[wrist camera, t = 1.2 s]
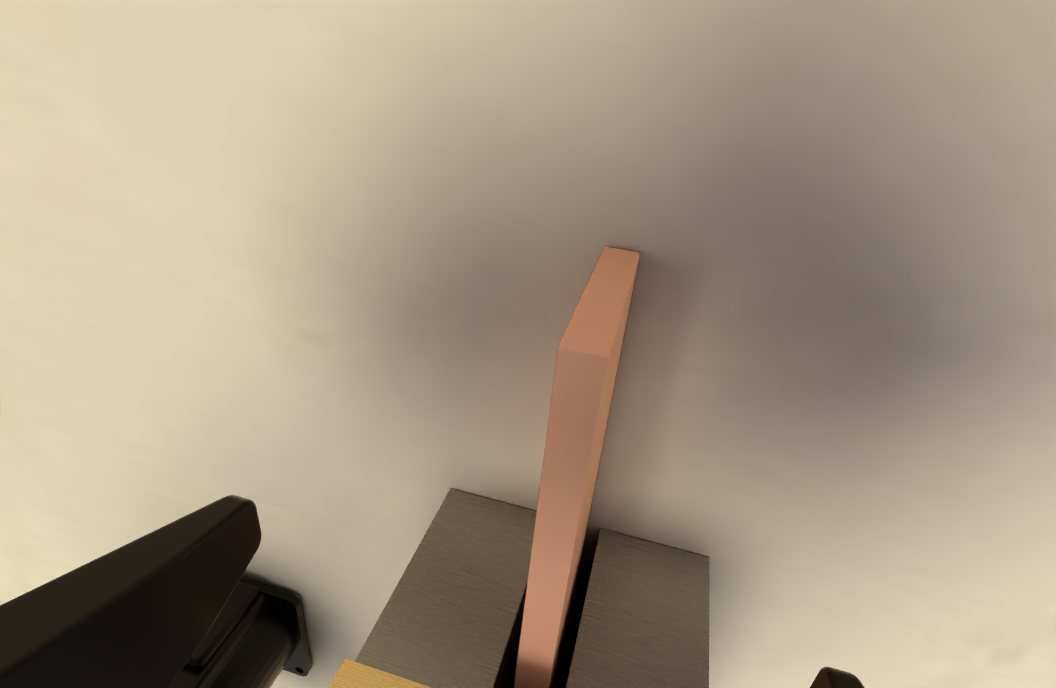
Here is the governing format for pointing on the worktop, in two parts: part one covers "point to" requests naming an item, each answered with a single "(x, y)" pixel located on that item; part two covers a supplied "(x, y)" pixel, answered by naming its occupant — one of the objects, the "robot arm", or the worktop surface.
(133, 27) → the worktop surface
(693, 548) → the worktop surface
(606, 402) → the salmon pink plank
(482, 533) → the grey upright box
